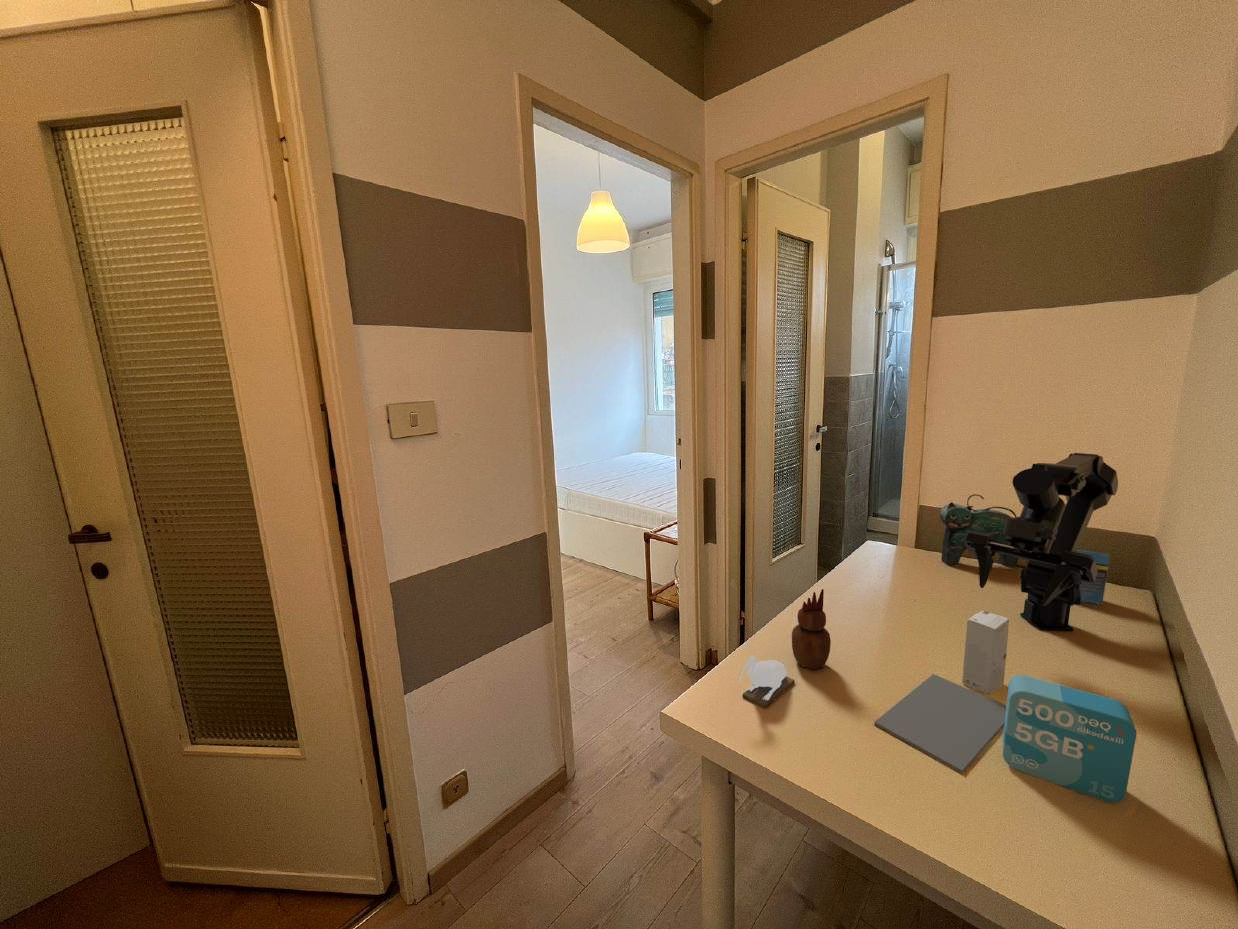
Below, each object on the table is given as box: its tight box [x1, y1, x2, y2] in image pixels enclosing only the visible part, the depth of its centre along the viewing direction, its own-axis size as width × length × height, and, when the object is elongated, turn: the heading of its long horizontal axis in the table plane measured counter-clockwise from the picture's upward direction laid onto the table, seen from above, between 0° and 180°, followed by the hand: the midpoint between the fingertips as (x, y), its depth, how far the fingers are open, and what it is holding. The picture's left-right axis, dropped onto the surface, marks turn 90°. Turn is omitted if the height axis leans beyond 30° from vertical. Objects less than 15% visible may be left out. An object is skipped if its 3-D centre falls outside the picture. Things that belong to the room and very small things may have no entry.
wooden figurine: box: [791, 588, 832, 670], centre depth 91 cm, size 7×6×15 cm
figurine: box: [738, 655, 795, 710], centre depth 84 cm, size 14×4×9 cm, turn 133°
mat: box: [873, 673, 1007, 774], centre depth 77 cm, size 20×12×1 cm, turn 125°
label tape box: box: [1076, 549, 1110, 606], centre depth 113 cm, size 9×4×12 cm, turn 58°
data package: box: [1002, 674, 1138, 804], centre depth 65 cm, size 12×4×12 cm, turn 53°
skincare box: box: [961, 610, 1010, 696], centre depth 84 cm, size 6×4×12 cm
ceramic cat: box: [939, 493, 1019, 568], centre depth 134 cm, size 20×6×20 cm, turn 81°
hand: (1011, 595), depth 89 cm, fingers open, 9 cm apart
